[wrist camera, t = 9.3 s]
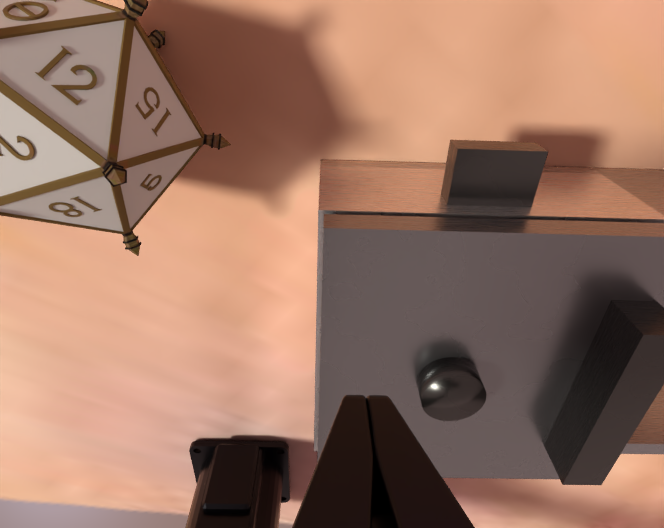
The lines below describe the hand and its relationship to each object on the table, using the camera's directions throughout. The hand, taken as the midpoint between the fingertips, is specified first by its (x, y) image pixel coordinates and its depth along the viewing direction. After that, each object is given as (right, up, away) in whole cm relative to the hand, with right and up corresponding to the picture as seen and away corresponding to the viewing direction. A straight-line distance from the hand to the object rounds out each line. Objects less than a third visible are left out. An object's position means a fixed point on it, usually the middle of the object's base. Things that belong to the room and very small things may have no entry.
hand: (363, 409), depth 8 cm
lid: (+5, -1, +10) cm, 11 cm away
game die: (-9, +10, +9) cm, 16 cm away
